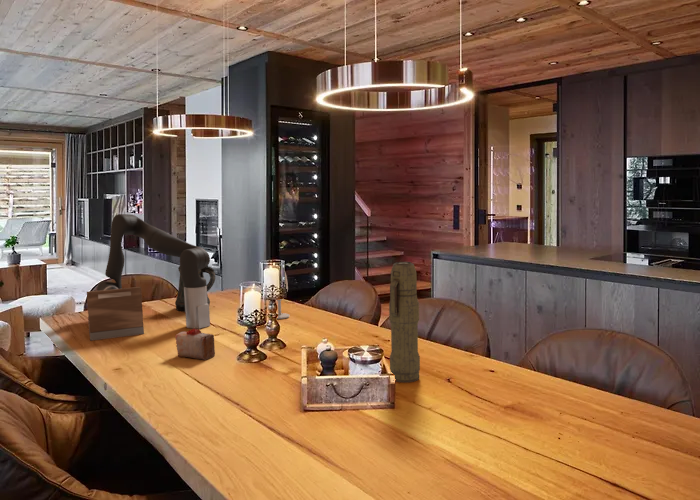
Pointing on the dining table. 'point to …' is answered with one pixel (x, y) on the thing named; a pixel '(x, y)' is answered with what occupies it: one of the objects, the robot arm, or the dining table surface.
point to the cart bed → (116, 333)
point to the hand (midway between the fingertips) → (114, 302)
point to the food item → (195, 344)
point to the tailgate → (114, 309)
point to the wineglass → (280, 315)
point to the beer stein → (180, 297)
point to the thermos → (404, 322)
